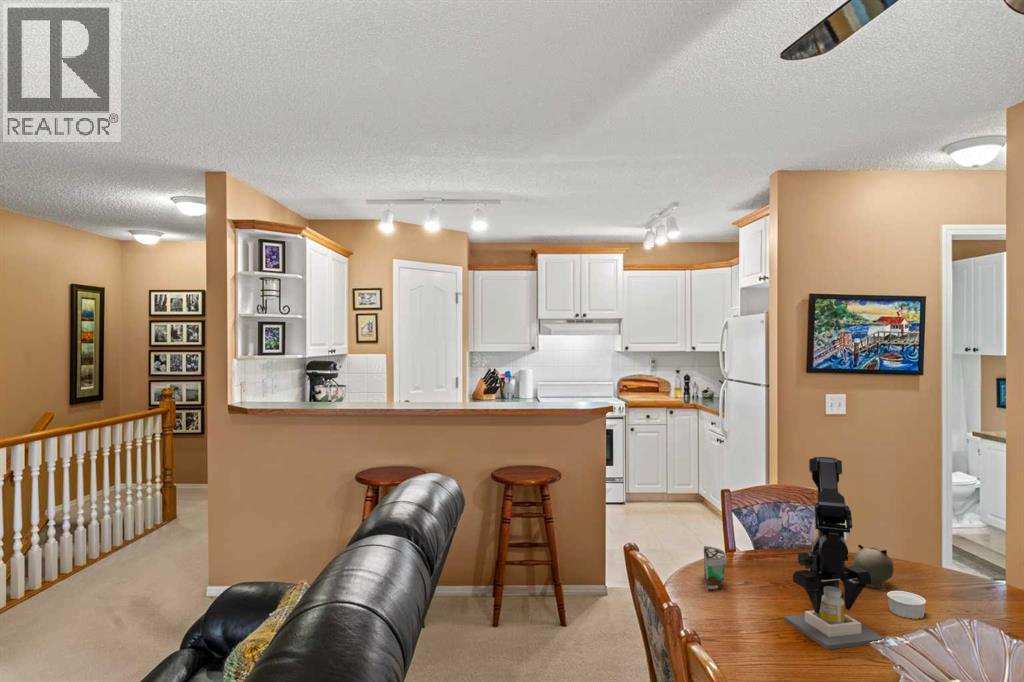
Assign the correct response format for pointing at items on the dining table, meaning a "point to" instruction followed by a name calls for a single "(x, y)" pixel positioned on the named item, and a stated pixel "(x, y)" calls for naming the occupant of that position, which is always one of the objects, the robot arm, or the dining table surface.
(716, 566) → the food container
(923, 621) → the dining table surface
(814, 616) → the bottle holder
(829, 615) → the supplement bottle
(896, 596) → the ramekin
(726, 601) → the dining table surface
